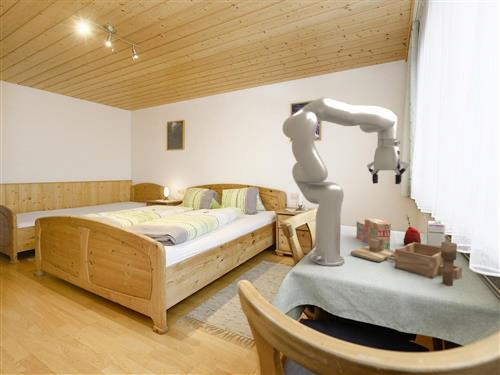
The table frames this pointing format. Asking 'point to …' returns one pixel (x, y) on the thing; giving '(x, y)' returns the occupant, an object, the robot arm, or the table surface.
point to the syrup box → (435, 233)
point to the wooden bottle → (448, 261)
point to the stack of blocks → (374, 231)
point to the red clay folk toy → (411, 235)
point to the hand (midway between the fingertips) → (386, 183)
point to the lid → (375, 251)
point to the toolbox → (422, 260)
